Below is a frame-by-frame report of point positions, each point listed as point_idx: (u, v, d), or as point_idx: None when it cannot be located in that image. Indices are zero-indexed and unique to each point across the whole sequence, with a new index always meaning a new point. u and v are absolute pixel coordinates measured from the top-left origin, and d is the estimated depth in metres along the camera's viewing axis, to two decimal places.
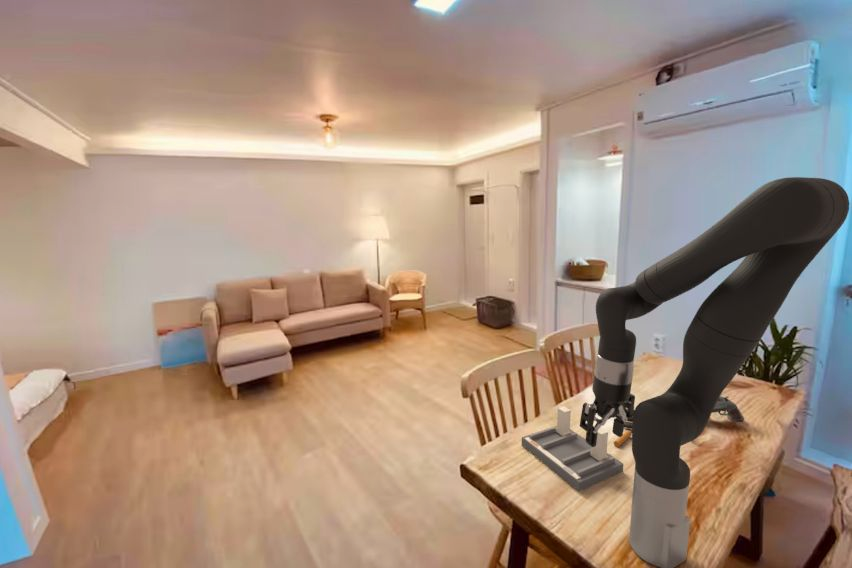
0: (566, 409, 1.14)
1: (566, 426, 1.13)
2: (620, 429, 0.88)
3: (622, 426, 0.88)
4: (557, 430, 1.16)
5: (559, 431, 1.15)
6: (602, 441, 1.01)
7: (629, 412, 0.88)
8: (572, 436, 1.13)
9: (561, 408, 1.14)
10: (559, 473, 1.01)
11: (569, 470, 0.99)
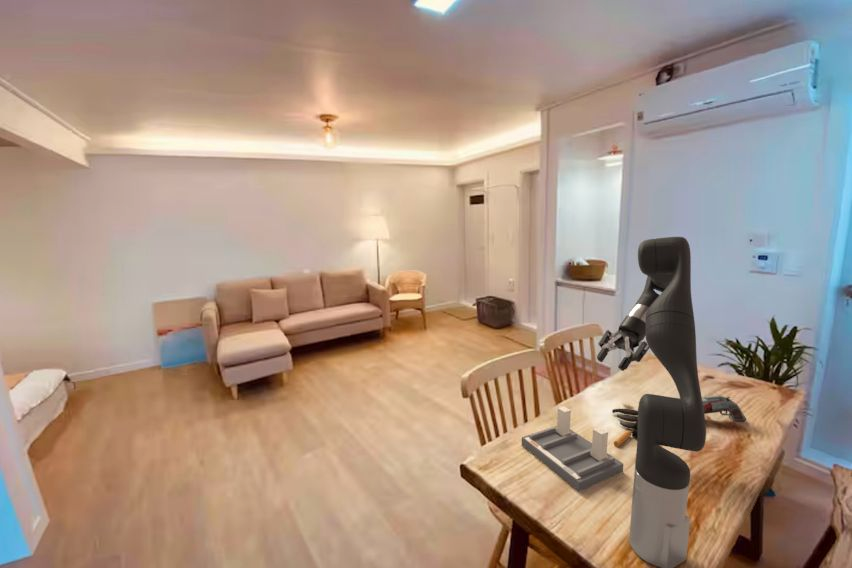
0: (566, 409, 1.14)
1: (566, 426, 1.13)
2: None
3: (623, 359, 1.13)
4: (557, 430, 1.16)
5: (559, 431, 1.15)
6: (602, 441, 1.01)
7: None
8: (572, 436, 1.13)
9: (561, 408, 1.14)
10: (559, 473, 1.01)
11: (569, 470, 0.99)
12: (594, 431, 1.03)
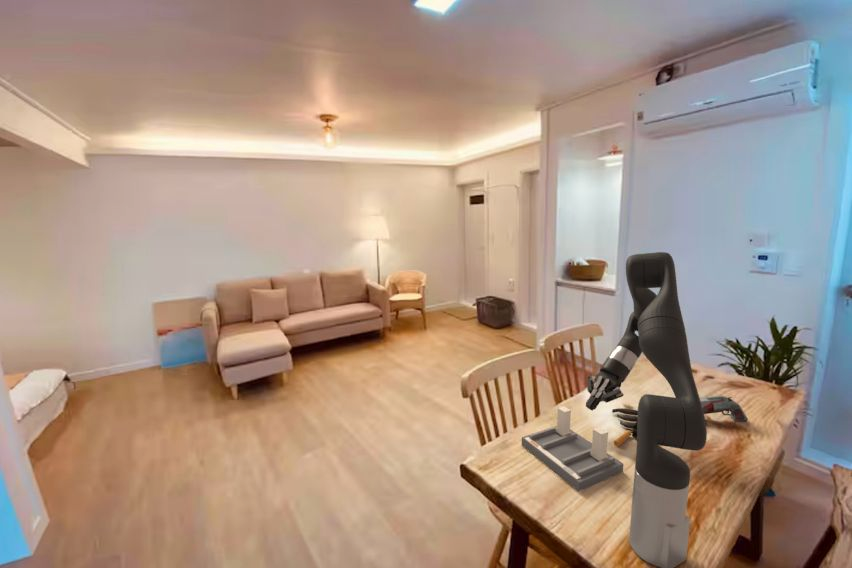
0: (566, 409, 1.14)
1: (566, 426, 1.13)
2: None
3: (593, 399, 1.18)
4: (557, 430, 1.16)
5: (559, 431, 1.15)
6: (602, 441, 1.01)
7: None
8: (572, 436, 1.13)
9: (561, 408, 1.14)
10: (559, 473, 1.01)
11: (569, 470, 0.99)
12: (594, 431, 1.03)
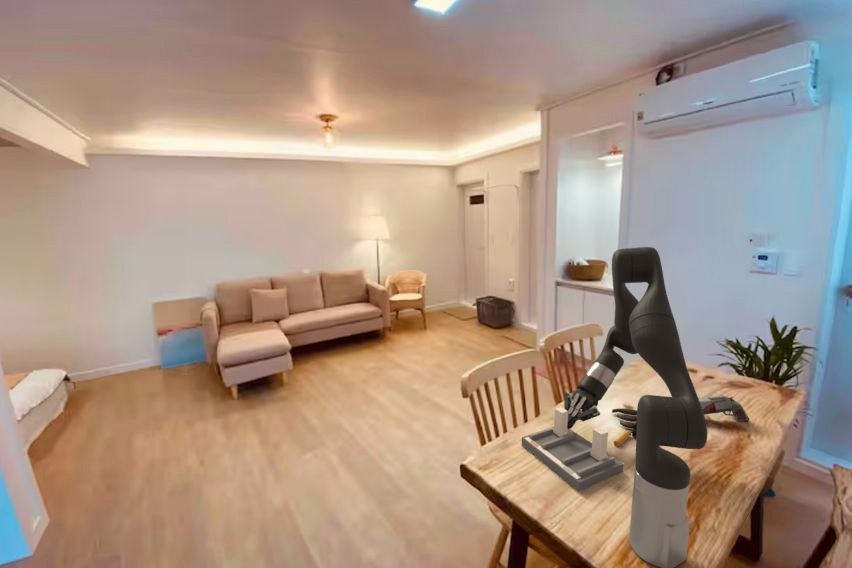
0: (563, 410, 1.13)
1: (563, 427, 1.13)
2: None
3: (569, 417, 1.15)
4: (554, 431, 1.15)
5: (556, 432, 1.15)
6: (602, 441, 1.01)
7: None
8: (572, 436, 1.13)
9: (558, 409, 1.14)
10: (559, 473, 1.01)
11: (569, 470, 0.99)
12: (594, 431, 1.03)
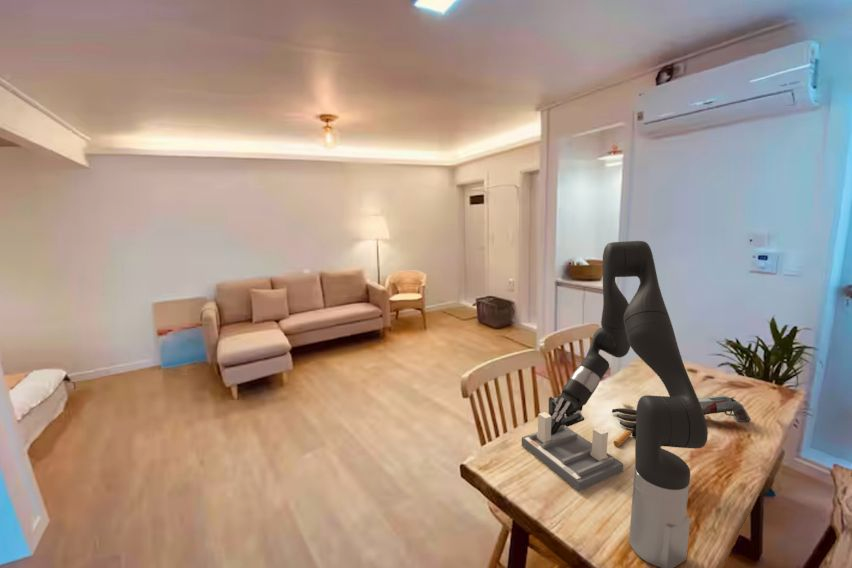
0: (547, 415, 1.11)
1: (547, 433, 1.10)
2: None
3: (553, 423, 1.12)
4: (538, 436, 1.13)
5: (540, 438, 1.12)
6: (602, 441, 1.01)
7: None
8: (572, 436, 1.13)
9: (542, 414, 1.11)
10: (559, 473, 1.01)
11: (569, 470, 0.99)
12: (594, 431, 1.03)
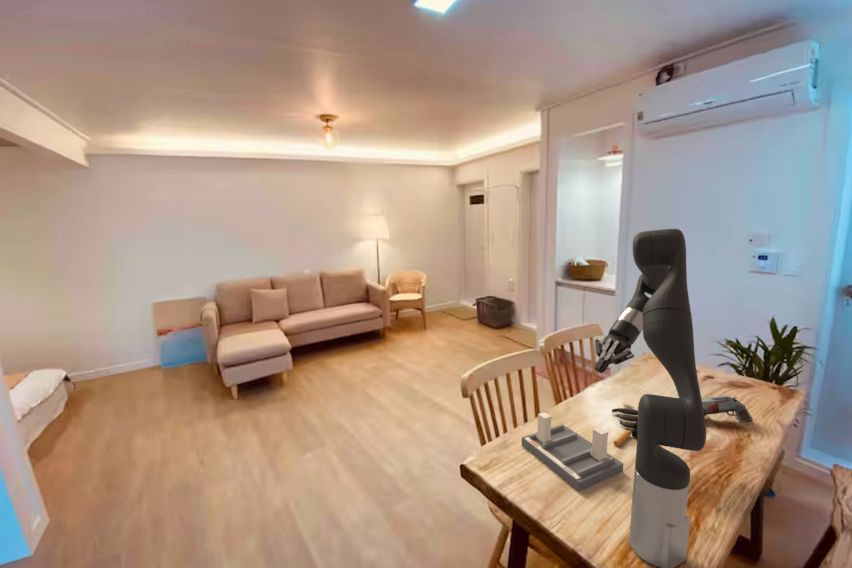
0: (546, 415, 1.11)
1: (546, 433, 1.10)
2: None
3: (602, 361, 1.14)
4: (537, 437, 1.13)
5: (539, 438, 1.12)
6: (602, 441, 1.01)
7: None
8: (572, 436, 1.13)
9: (541, 414, 1.11)
10: (559, 473, 1.01)
11: (569, 470, 0.99)
12: (594, 431, 1.03)
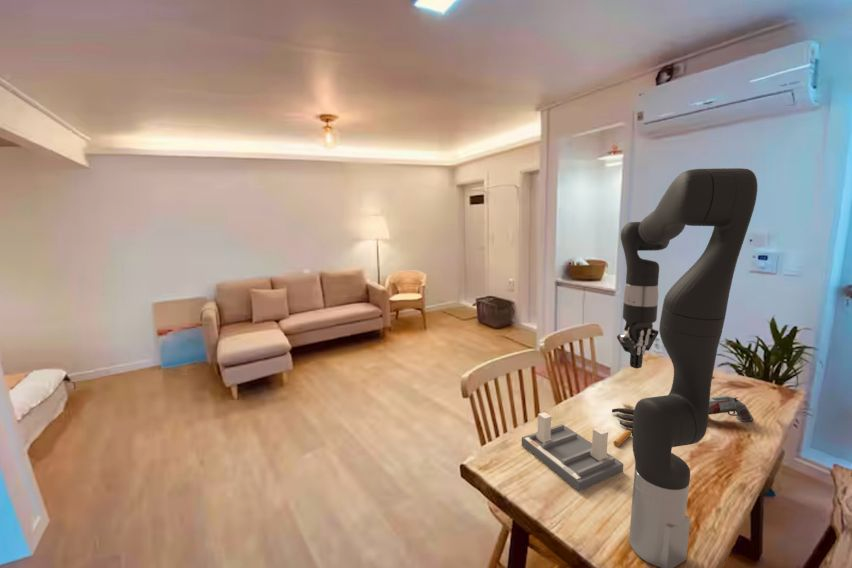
0: (546, 415, 1.11)
1: (546, 433, 1.10)
2: (639, 360, 0.98)
3: (641, 357, 0.97)
4: (537, 437, 1.13)
5: (539, 438, 1.12)
6: (602, 441, 1.01)
7: (648, 343, 0.98)
8: (572, 436, 1.13)
9: (541, 414, 1.11)
10: (559, 473, 1.01)
11: (569, 470, 0.99)
12: (594, 431, 1.03)
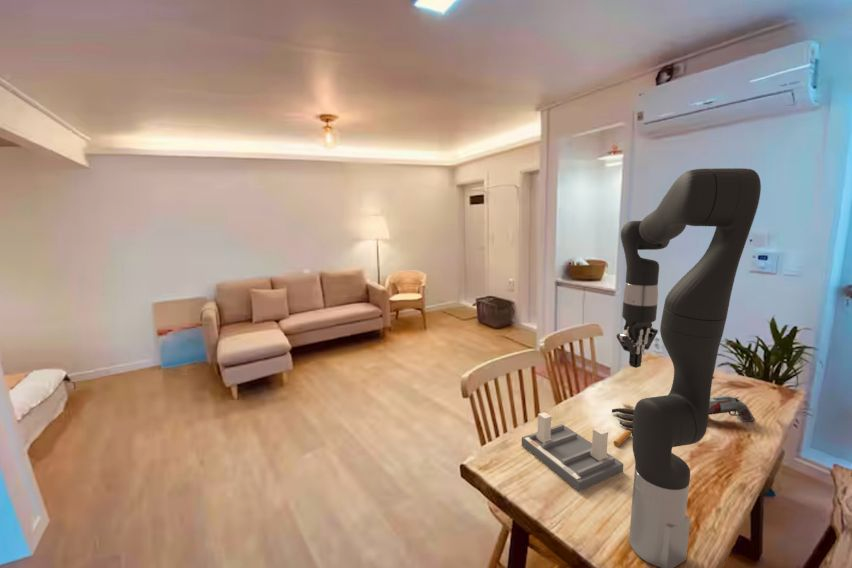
0: (546, 415, 1.11)
1: (546, 433, 1.10)
2: (638, 359, 0.98)
3: (640, 356, 0.97)
4: (537, 437, 1.13)
5: (539, 438, 1.12)
6: (602, 441, 1.01)
7: (647, 342, 0.98)
8: (572, 436, 1.13)
9: (541, 414, 1.11)
10: (559, 473, 1.01)
11: (569, 470, 0.99)
12: (594, 431, 1.03)
